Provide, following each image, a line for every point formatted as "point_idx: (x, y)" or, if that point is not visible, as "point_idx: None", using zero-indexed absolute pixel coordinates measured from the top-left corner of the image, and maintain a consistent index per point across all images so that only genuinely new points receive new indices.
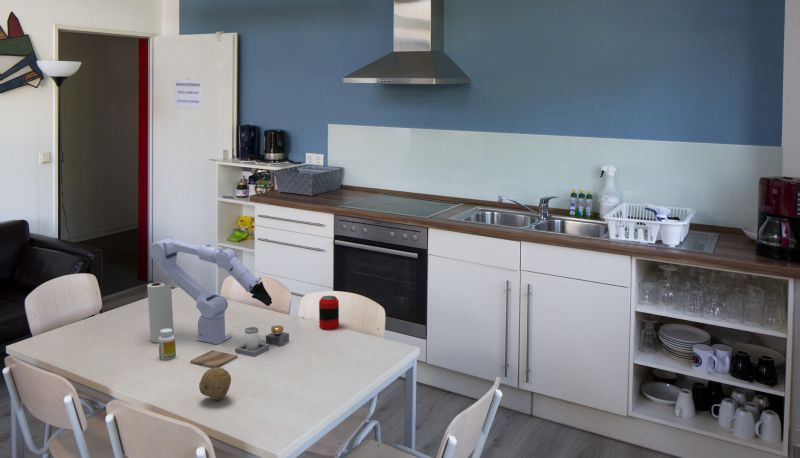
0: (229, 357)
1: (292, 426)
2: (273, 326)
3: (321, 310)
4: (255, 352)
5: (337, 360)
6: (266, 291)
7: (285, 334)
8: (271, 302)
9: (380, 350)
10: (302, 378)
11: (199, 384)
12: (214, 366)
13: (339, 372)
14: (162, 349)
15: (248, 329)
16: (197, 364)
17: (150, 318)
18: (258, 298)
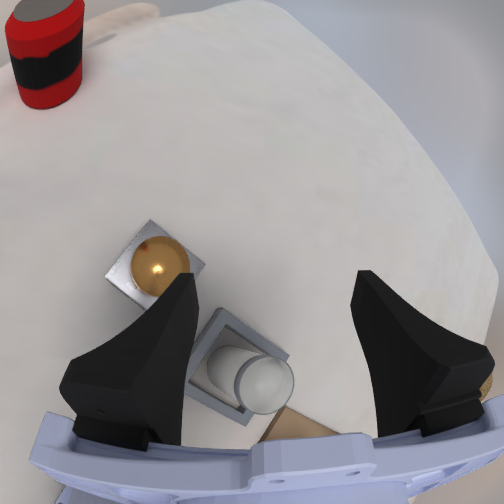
0: (298, 425)
1: (481, 261)
2: (143, 283)
3: (54, 57)
4: (284, 352)
5: (321, 128)
6: (414, 308)
7: (162, 235)
8: (193, 279)
9: (269, 37)
10: (399, 227)
11: None
12: None
13: (374, 149)
14: None
15: (268, 398)
16: None
17: None
18: (182, 397)
